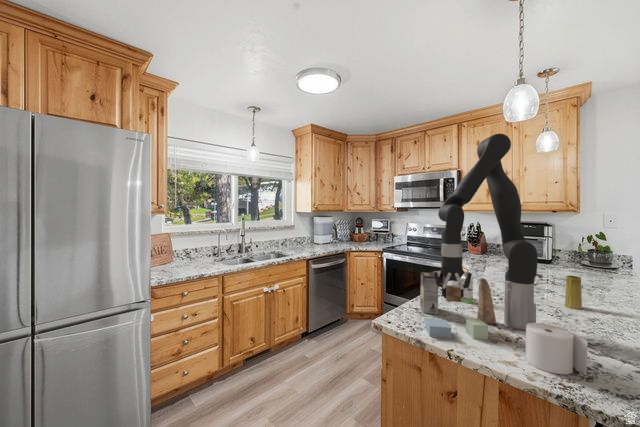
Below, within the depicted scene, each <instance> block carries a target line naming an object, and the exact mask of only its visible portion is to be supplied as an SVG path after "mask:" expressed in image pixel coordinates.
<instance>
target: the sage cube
mask: <svg viewBox="0 0 640 427" xmlns="http://www.w3.org/2000/svg"><path fill="white" fill-rule="evenodd" d="M465 333H466V334H467V335H468V336H469V337H470V338H472V339H473V340H489V324H486V323H484V322H483V321H482V320H480V319H474V318H472V319H471V318H469V319H468V318H466V319H465Z"/></svg>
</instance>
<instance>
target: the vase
mask: <svg viewBox="0 0 640 427" xmlns="http://www.w3.org/2000/svg"><path fill="white" fill-rule="evenodd" d="M565 277H566V278H565V296H564V307H566V308H568V307H569V309H572V308H573V309H572V310H582V309H583V298H582V297H583V296H582V277H580V276H578V275H577V276H576V275H566V276H565Z"/></svg>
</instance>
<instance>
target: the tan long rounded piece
mask: <svg viewBox="0 0 640 427" xmlns="http://www.w3.org/2000/svg"><path fill="white" fill-rule="evenodd" d="M477 303H478V305H477V309H478V310H477V315H476V316H477V317H476V318H477V319H480V320H482V321H483V322H484V323H486V324H487V325H495V324H497V318H496V313H495V310H494V304H493V299H492V294H491V288H490V285H489V283H488V280H487V279H485V278H483V277H482V278H480V280H479V283H478V302H477Z"/></svg>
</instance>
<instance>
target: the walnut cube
mask: <svg viewBox="0 0 640 427" xmlns="http://www.w3.org/2000/svg"><path fill="white" fill-rule="evenodd" d="M445 301H446V302H453V303H455V302H456V303H462V302H461V289H460V288H459V286H454V285H452V284H450V285H449V284H447V285H446V298H445Z"/></svg>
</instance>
